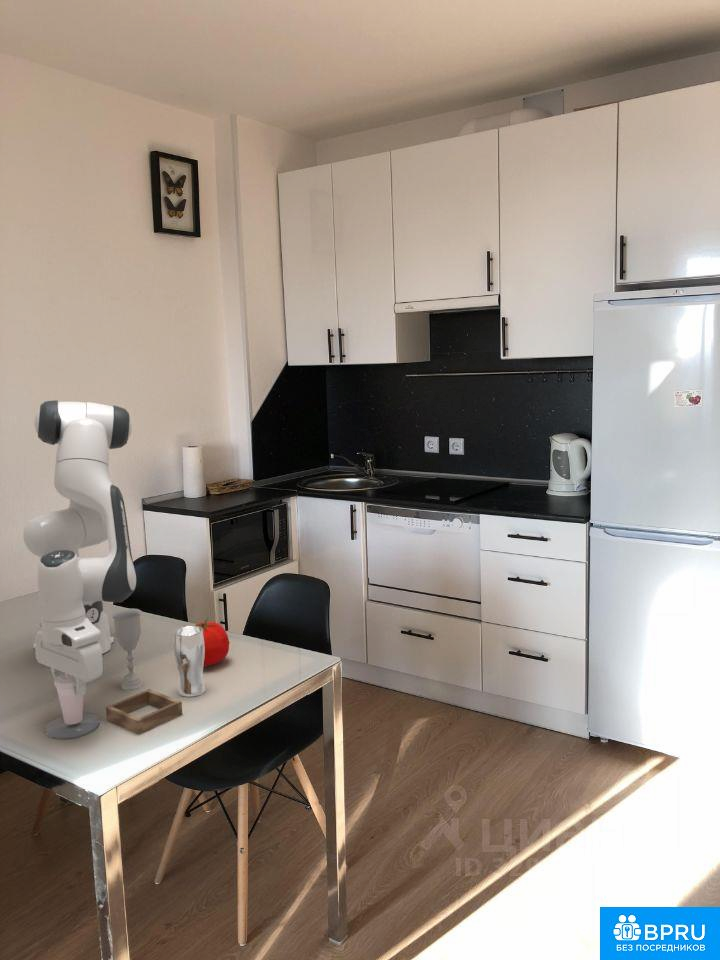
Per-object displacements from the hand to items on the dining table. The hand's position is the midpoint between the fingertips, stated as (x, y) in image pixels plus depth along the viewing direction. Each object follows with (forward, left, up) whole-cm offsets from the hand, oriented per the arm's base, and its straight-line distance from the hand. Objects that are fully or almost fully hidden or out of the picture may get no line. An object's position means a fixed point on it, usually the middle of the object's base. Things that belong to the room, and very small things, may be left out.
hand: (70, 690), depth 175 cm
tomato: (-3, +40, -9) cm, 41 cm away
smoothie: (0, 0, -7) cm, 7 cm away
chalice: (-8, +21, -9) cm, 24 cm away
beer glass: (+7, +27, -9) cm, 29 cm away
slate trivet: (0, 0, -8) cm, 8 cm away
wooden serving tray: (+9, +12, -8) cm, 17 cm away
